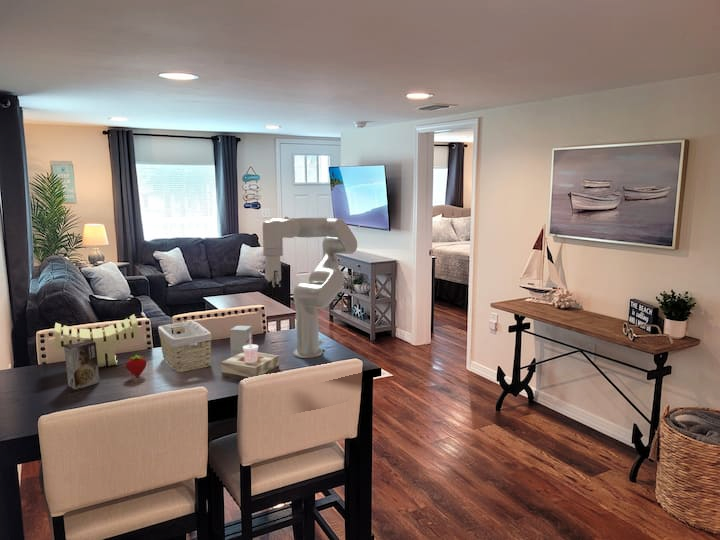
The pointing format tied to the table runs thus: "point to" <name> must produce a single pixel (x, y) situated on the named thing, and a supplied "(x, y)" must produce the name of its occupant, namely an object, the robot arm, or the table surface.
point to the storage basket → (186, 346)
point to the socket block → (249, 366)
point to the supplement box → (239, 339)
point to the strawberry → (136, 365)
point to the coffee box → (81, 363)
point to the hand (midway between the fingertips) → (274, 294)
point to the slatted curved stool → (100, 338)
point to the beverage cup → (250, 352)
